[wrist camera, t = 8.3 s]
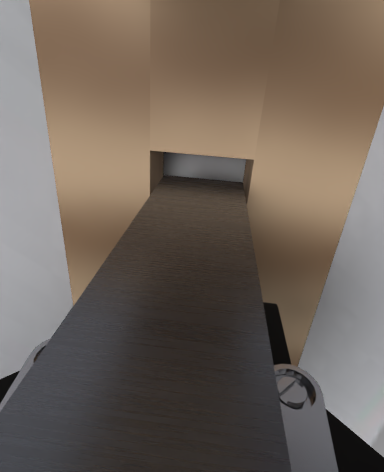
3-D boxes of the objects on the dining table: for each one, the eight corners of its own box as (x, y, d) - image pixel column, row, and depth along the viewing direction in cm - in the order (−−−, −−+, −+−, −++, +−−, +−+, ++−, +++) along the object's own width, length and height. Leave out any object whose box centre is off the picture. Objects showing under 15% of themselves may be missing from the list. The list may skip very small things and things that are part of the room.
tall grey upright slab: (222, 322, 14) (214, 704, 6) (160, 315, 15) (58, 673, 6) (243, 182, 11) (305, 553, 2) (164, 175, 11) (-56, 491, 3)
